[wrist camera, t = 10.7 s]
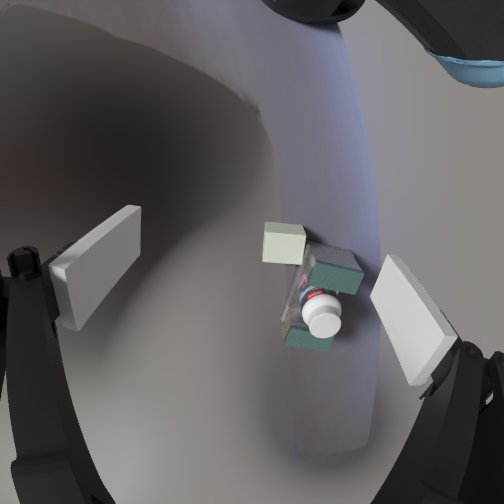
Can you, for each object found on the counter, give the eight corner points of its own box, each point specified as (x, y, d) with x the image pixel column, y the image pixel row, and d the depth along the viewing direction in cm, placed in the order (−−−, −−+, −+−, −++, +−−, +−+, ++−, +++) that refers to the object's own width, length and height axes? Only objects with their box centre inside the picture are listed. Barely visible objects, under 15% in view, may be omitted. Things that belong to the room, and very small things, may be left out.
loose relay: (265, 221, 38) (265, 232, 34) (302, 224, 38) (306, 235, 34) (262, 248, 40) (262, 261, 36) (298, 251, 40) (301, 264, 36)
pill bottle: (315, 265, 39) (327, 300, 31) (339, 285, 40) (355, 322, 32) (289, 290, 41) (295, 329, 33) (314, 308, 42) (324, 348, 34)
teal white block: (305, 239, 39) (314, 262, 32) (351, 250, 39) (366, 274, 33) (280, 314, 44) (282, 344, 37) (321, 321, 44) (328, 351, 38)
